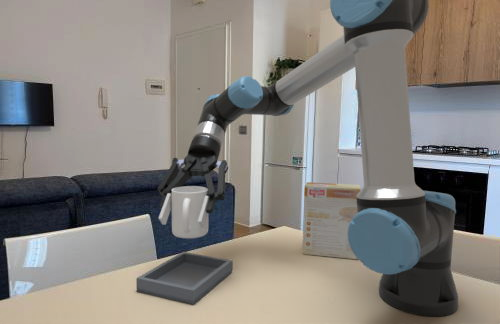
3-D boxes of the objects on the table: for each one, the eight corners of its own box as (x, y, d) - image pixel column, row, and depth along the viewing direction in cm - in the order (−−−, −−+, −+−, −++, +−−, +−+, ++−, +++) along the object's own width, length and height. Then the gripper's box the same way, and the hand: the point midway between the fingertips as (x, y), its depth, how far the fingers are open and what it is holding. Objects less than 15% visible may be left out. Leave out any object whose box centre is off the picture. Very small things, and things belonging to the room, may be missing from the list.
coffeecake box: (357, 251, 108) (360, 184, 105) (358, 260, 101) (361, 188, 99) (304, 246, 111) (306, 181, 109) (301, 254, 104) (304, 185, 102)
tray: (232, 272, 91) (232, 260, 91) (193, 305, 75) (193, 290, 74) (183, 263, 97) (183, 251, 96) (136, 291, 80) (136, 278, 80)
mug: (204, 244, 79) (204, 196, 77) (164, 244, 79) (164, 195, 77) (210, 228, 90) (210, 186, 89) (175, 228, 90) (175, 185, 89)
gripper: (249, 155, 95) (231, 235, 82) (172, 152, 100) (142, 227, 86) (244, 135, 90) (224, 217, 76) (163, 133, 94) (130, 210, 80)
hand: (181, 223), depth 81 cm, fingers closed on mug, 8 cm apart
